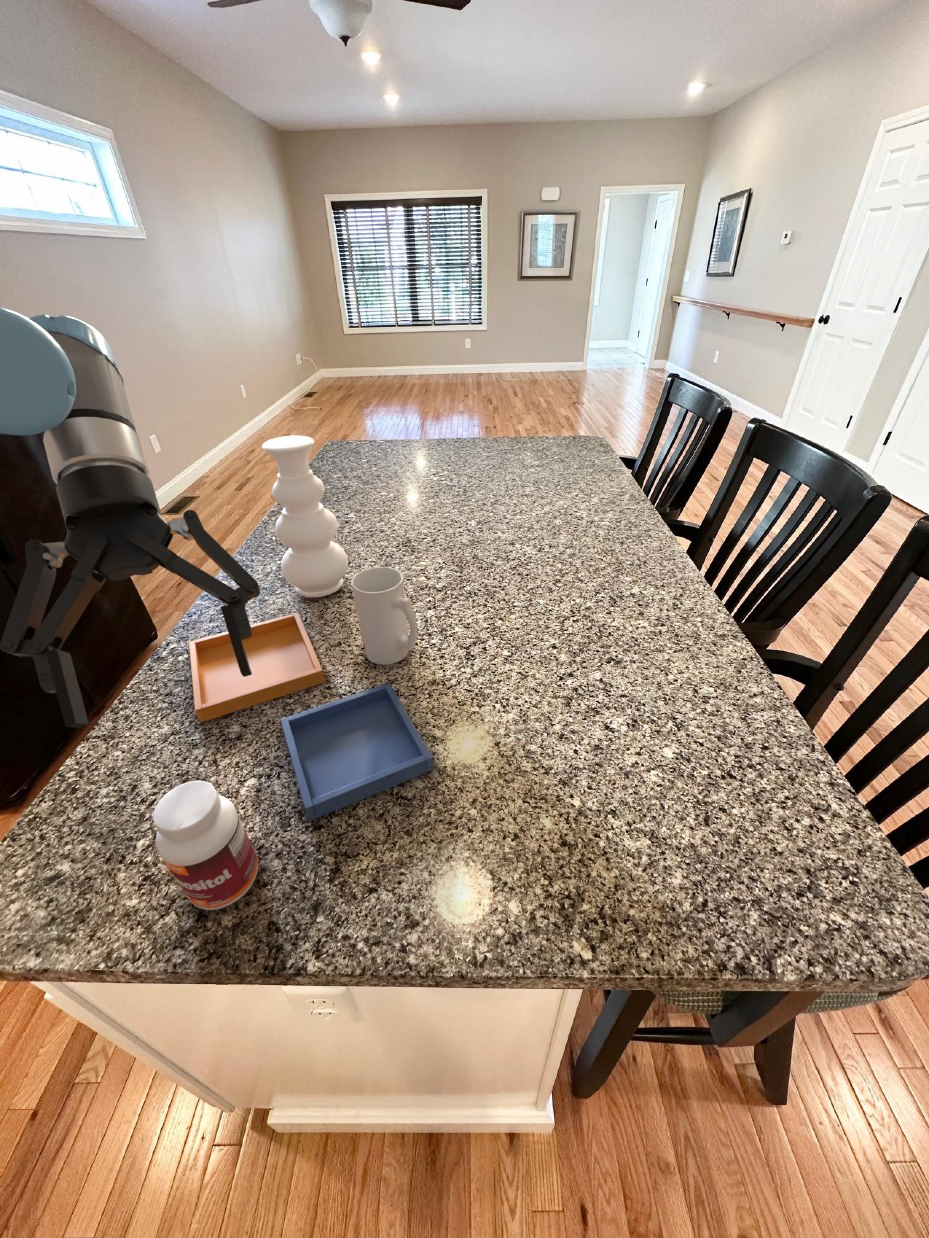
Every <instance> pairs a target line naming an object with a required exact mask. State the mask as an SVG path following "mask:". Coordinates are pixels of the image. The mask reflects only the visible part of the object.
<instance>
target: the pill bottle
mask: <svg viewBox="0 0 929 1238" xmlns="http://www.w3.org/2000/svg"><path fill="white" fill-rule="evenodd" d="M152 820H153V824H154V826H155V828H156V830H157V832H156V835H155V846H156V850H157V852H158V854H159V857H160V858H161V859H162V861H163V862H164V864H165V865H166V867H167V868H168V870H169V871H170V873H171V875H172V876H173V878H174V879H175V880H176V882H177V884H178V885H179V887H180V889H181V890H182V891H183V893H184V894H185V896H186V898H187V899H188V900H189V902H190V904H192V905H193V906H195V907H196V908H198V909H201V910H205V911H215V910H220V909H224V908H226V907H229V906H230V905H232V904H234V903H235V902H237V901H238V900H240V899H241V898H242V897H244V896H245V894H246V893H248V892H249V890H250V889H251V887H252V886H253V884H254V882H255V880H256V878H257V876H258V872H259V871H258V870H259V859H258V855H257V852H256V850H255V848H254V846H253V844H252V842H251V838H250V837H249V835H248V832H247V831H246V828H245V826H244V824H243V822H242V820H241V818H240V815H239V813H238V811H237V809H236V807H235V805H234V804H233V802H232V801H231V800H230V799H229V798H227V797H225V796H223V795H222V794H221V795H220V794H219V793H218V791H217V790H216V788H215V787H214V786H213V784H211V783H210V782H207V781H205V780H192V781H187V782H184V783H182V784H178V785H177V786H175V787H174V788H172V789H170V790H169V791H168V792H167V793H165V795H163V797H161V799H160V800H159V801H158V802H157V804H156V805H155V808H154V810H153V813H152Z"/></svg>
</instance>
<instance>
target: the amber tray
mask: <svg viewBox="0 0 929 1238" xmlns="http://www.w3.org/2000/svg"><path fill="white" fill-rule="evenodd" d="M250 626H251V629H252V637H251V638H248V639H244V640H242V643H243V646H244V650H245V653H246V656H247V659H248V663H249V666H250V669H251V672H252V675H249V676H246V677H244V676H243V675H242V674H241V672H240V669H239V666H238V662H237V659H236V656H235V653H234V649H233V646H232V643H231V639H230V636H229V633H228V630H226V631H224V632H221V633H217V634H213V635H209V636H206V637H202V638H201V637H200V638H198V639H194V640H190V641H188V649H189V660H190V671H191V672H190V673H191V682H192V692H193V702H194V703H193V707H194V712H195V714H196V716H197V718H198V721H199V723H204V722H207V721H210V720H213V719H216V718H220V717H222V716H225V715H228V714H231V713H235V712H237V711H240V710H243V709H247V708H250V707H253V706H256V705H259V704H263V703H266V702H269V701H271V700H274V699H277V698H282V697H284V696H287V695H290V694H294V693H296V692H299V691H303V690H306V689H309V688H312V687H316V686H318V685H321V684H325V683H326V677H325V674H324V670H323V667H322V666H321V663H320V661H319V659H318V655H317V653H316V651H315V649H314V646H313V644H312V642H311V639H310V637H309V634H308V631H307V630H306V627H305V625H304V622H303V620H302V618H301V615H300V613H299V612H293V613H290V614H285V615H283V616H280V617H275V618H272V619H268V620H265V621H260V622H257V623H253V624H250Z"/></svg>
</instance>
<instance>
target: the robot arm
mask: <svg viewBox="0 0 929 1238" xmlns="http://www.w3.org/2000/svg"><path fill="white" fill-rule="evenodd" d="M126 394H127V393H126V389H125V385H124V378H123V375H122V372H121V371H120V369H119V367H118V364H117V361H116V358H115V355H114V353H113V352H112V349H111V347H110V345H109V343H108V341H107V340H106V338H105V337H104V336H103V335H102V334H101V333H100V332H99V331H98V330H97V329H96V328H94V327H93V326H91V325H90V324H89V323H87V322H85V321H83V320H80V319H78V318H75V317H73V316H69V315H64V314H60V315H59V316H49V315H47V314H37V315H36V314H35V315H33V316H30V317H26V316H25V315H22V314H20V313H18V312H15V311H13V310H10V309H6V308H4V307H2V306H0V435H7V436H12V435H13V436H32V435H37V434H38V435H39V434H40V437H41V441H42V442H43V445H44V449H45V454H46V457H47V462H48V465H49V469H50V472H51V477H52V480H53V481H54V483H55V484H56V485H55V490H56V491H55V492H56V495H57V499H58V502H59V505H60V510H61V513H62V517H63V521H64V524H65V527H66V531H67V532H66V537H65V539H64V541H54V542H45V543H42V542H41V541H40V540H38V539H35V538H32V539H29V540H28V541H26V542H25V544H24V550H25V561H26V567H25V570H24V572H23V575H22V579H21V581H20V585H19V587H18V589H17V592H16V596H15V599H14V601H13V605H12V607H11V612H10V614H9V617H8V620H7V622H6V626H5V628H4V632H3V634H2V637H1V639H0V650H1V651H2V652H3V653H7V654H10V655H14V656H17V657H19V658H25V657H31V658H32V659H33V662H34V666H35V671H36V674H37V678H38V682H39V685H40V686H39V687H41V689H42V691H44V693H48V694H55V693H56V695H57V700H58V703H59V707H60V712H61V716H62V718H63V723H64V726H65V728H78V729H79V728H82V727H86V726H89V725H90V723H89V719H88V716H87V712H86V708H85V705H84V701H83V696H82V692H81V690H80V685H79V682H78V679H77V674H76V670H75V666H74V663H73V659H72V655H71V653H69V652H66V651H63V650H61V648H62V647H63V645H64V644H65V642H66V640H67V639H68V637H69V636H70V634H71V632H72V631H73V629H74V628H75V626H76V624H77V623H78V621H79V620H80V618H81V616H82V614H83V613H84V612H85V610H86V609H87V607H88V606H89V603H90V602H91V600H92V599H93V597H94V595H95V594H96V593H97V592H99V591H100V590H101V589H102V588H103V586H104V584H105V583H106V581H107V580H111V581H114V582H119V581H123V580H127V579H129V578H131V577H133V576H146V575H151V574H153V571H155V570H156V569H157V568H159V566H160V567H161V568H163V569H165V570H167V571H168V572H170V573H172V574H173V575H176V576H178V577H180V578H181V579H184V580H185V581H186V582H187V583H190V584H192V585H193V586H195V587H196V588H197V589H200V590H202V591H203V592H205V593H207V594H209V595H210V596H212V597H213V598H215V599H217V600H218V601H220V602H221V603H224V604H225V605H221V606H220V609H221V613H222V616H223V620H224V623H225V626H226V629H227V630H226V631H228V633H229V636H230V639H231V643H232V646H233V649H234V653H235V656H236V659H237V662H238V666H239V669H240V672H241V674H242V675H243V676H244V677H246V676H249V675H252V672H251V669H250V666H249V663H248V659H247V656H246V653H245V650H244V646H243V643H242V640H244V639H248V638H251V637H252V629H251V626H250V625H251V623H250V620H249V617H248V614H247V610H246V605H247V603H248V602H249V601H251V600H253V599H255V598H258V597H259V596H260V594H261V589H260V585H259V583H258V581H257V580H256V578H254V577H253V576H252V575H251V574H250V573H249V572H248V571H247V570H246V569H245V568H244V567H243V566H242V565H241V564H240V563H239V562H238V561H237V560H236V559H235V558H234V557H233V556H232V555H231V554H230V553H229V552H228V551H226V549H225V548H224V547H223V546H222V545H221V544H219V542H218V541H216V539H214V537H213V536H212V535H210V533H209V532H207V531H206V530H205V528H204V526H203V524H202V521H201V519H200V517H199V515H198V513H197V512H196V511H195V510H193V509H187V510H185V511H184V512H183V514H182V517H178V518H175V519H171V520H168V521H167V520H166V519H165V518H164V517H163V515H162V511H161V508H160V504H159V501H158V499H157V494H156V491H155V488H154V484H153V482H152V479H151V478H150V477H149V473H150V471H149V468H148V465H147V461H146V457H145V454H144V450H143V448H142V445H141V442H140V438H139V434H138V433H137V430H136V425H135V422H134V418H133V415H132V410H131V407H130V404H129V401H128V397H127V395H126ZM174 535H180V536H181V537H182V538H183V539H184V540H186V541H193V540H194V542H195V543H196V545H197V546H198V548H199V549H200V550H201V551H202V552H203V553H204V554H205V555H206V556H207V557H209V558H210V560H212V562H214V563H215V564H216V565H217V567H219V568H220V570H222V571H223V572H224V573H225V574H226V575H227V577H229V578H230V579H231V580H232V581H233V582H234V583H235V584H236V585H237V586H238V587H237V588H236V589H234V588H233V587H231V586H230V585H227V584H226V583H224V582H223V581H221V580H219V579H218V578H216V577H214V576H213V575H211V574H210V573H208V572H206V571H204V570H203V569H201V568H199V567H198V566H196V565H194V564H193V563H191V562H189V560H186V559H184V558H182V557H181V556H179V555H178V554H177V553H175V552H174V551H173V550H171V549H169V547H170V545H171V542H172V540H173V538H174ZM68 556H71V557H73V558H74V559H75V560H77V563H76V564H75V566H74V568H73V569H72V571H71V573H70V579H69V581H68V582H67V584H66V585H65V586H64V589H63V590H62V592H61V593H60V595H59V596H58V597H57V599H56V601H55V603H54V604H53V605H52V606H51V608H50V610H49V611H48V613H47V615H46V617H45V618H44V615H45V612H46V609H47V605H48V602H49V600H50V596H51V593H52V590H53V587H54V584H55V581H56V577H57V569H58V568H61V567H63V562H64V560H65V558H66V557H68Z"/></svg>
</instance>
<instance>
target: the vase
mask: <svg viewBox="0 0 929 1238" xmlns="http://www.w3.org/2000/svg"><path fill="white" fill-rule="evenodd" d="M314 444H315V440H314V438H312V437H310V436H306V435H287V436H279V437H275V438H271V439H269V440H266V441H265V442H263V444H262V445H261V448H262V450H263V451H264V452H265V453H266V454H267V455H269V456H270V457H271V458H272V459H273V460H274V461H275V463H276V466H277V470H278V471H277V472H278V473H277V476H276V477H277V480H276V481H275V482H274V484H273V487H272V488H271V489H272V490H271V494H272V497H273V499H274V500H275V501H276V503H278V504H279V505H281V507H283V508H282V511H281V515H280V516H279V517H278V518H277V520H276V522H275V525H274V533H275V536H276V538H277V540H278V541H279V542H280V543H281V544H282V545H284V546H285V547H287V548H288V549H287V551H285V553H284V555H283V556H282V559H281V563H280V570H281V573H282V576H283V578H284V580H286V582H287V583H288V584H290V585H291V586H293V587H294V590H295V592H296V594H298V595H300V596H302V597H306V598H321V597H326V596H329V595H332V594H335V593H336V592H337V591H339V590H340V589H341V588H342V587H343V585H344V577H345V575H346V574H347V571H348V568H349V559H348V555H347V553H346V551H345V550H344V549H343V548H342V547H341V546H340V545H339V544H337V543H336V542H334V541H332V540H334V538H335V537H336V535H337V533H338V531H339V530H338V529H339V524H338V523H339V522H338V520H337V518H336V516H335V514H334V513H333V512H331V511H330V510H329V509H327V508H326V507H324V505H323V504H322V503H321V502H320V501H321V500H322V499H323V497H324V495H325V491H326V489H325V485H324V483H323V481H322V480H321V479H320V478H319V477H317V476H316V475H315V473H314V472H313V470H312V469H311V468H310V465H309V455H310V452H311V450H312V448H313V446H314Z"/></svg>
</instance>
